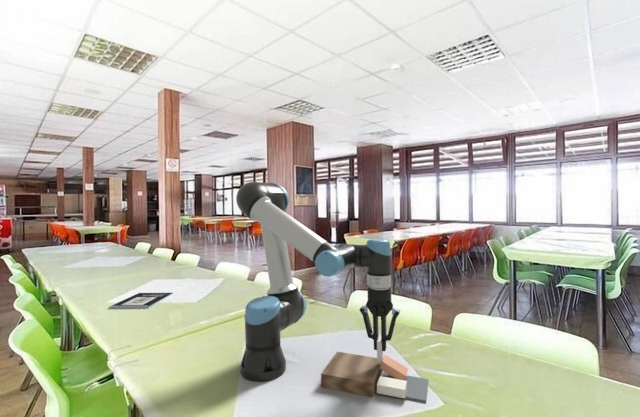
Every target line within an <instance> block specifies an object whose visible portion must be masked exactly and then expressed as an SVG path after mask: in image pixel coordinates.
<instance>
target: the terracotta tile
mask: <svg viewBox="0 0 640 417" xmlns="http://www.w3.org/2000/svg"><path fill="white" fill-rule="evenodd" d="M380 369H381V370H383V371H384V372H386V373H388V374H389V375H391V376H393V377H394V378H396V379H399V380H405V378H406V376H407V375H408V370H409V368H408V367H406V366H405V365H403V364H401V363H400V362H399V361H396V360H394V359H393V358H392V357H390V356H388V355H387V354H385V355H383V361H382V363H381V365H380Z"/></svg>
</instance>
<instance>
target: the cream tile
mask: <svg viewBox="0 0 640 417" xmlns="http://www.w3.org/2000/svg"><path fill="white" fill-rule="evenodd" d="M376 390H377V393H376V394H379V395H385V396H389V397H390V396H391V397H396V398H400V399H405V397H406V391H407V381H405V380H399V379H393V378H388V377H382V375H381V376H380V378H379V380H378V383H377V388H376Z"/></svg>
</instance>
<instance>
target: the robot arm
mask: <svg viewBox="0 0 640 417" xmlns="http://www.w3.org/2000/svg"><path fill="white" fill-rule="evenodd" d="M235 198H236V199H235V201H236V206H237V207H238V209H239V211H240V212H241V213H242V214H243V215H245V216H246V217H247V218H248V219H250V220H251V221H253V222H257V223H259V224H260V230H261V234H262V242H263V248H264V254H265V260H266V267H267V274H268V280H269V286H270V287H269V289H268V290H267V291H266V294H267V295H263V296H261V297H260V296H259V297H255V298H253V299H252V300H250V301H249V302H247V304H246V305H245V310H244V311H245V312H244V327H245V328H244V329H245V332H244V335H245V350H244V353H243V356H242V360H241V362H240V375H241V377H243V378H244V379H246V380H249V381H254V382H265V381H270V380H274V379H276V378H279V377H280V376H282V375H283V374H284V373H285V372H286V370H287V369H286V368H287V361H286V358H285V355H284V352H283V348H282V345H281V332H282V331H284V330H285V329H288V327H290V326H292V325H294V324H296V323H297V322H299V321H300V320H301V319H302V318H303V316H304V315H305V313H306V309H307V302H306V298H305V296H304V295H303V294H302V292H301V291H299V287H298V285H296V284H295V283H294V282H293V275H292V269H291V268H292V267H291V262H290V257H289V250H288V244H289V245H290V246H292V247H293V248H294V249H295V250H297V251H299V253H301V254H302V255H304V256H305V257H307V258H308V259H309V260H310V261H312V262H313V263H314V264H315V268H316V270H317V272H318V274H320V275H321V276H324V277H333V276H337V275H339V274H341V273H342V272H345V271H347V270H349V269H350V268H362V269H366V270H367V271H366V272H367V273H366V275H367V278H366V279H367V280H366V281H367V286H368V287H367V301H366V302H365V305H362V306H361V307H360V308H359V312H360V314H361V315H362V318H363V322H364V323H363V324H364V326H365V331H366V335H367V337H368V338H369V339H372V340H373V350H374V351H376V358H377V362H382V361H383V358H384V352H386V350H387V342H388V341H391V340H392V337H393V334H394V330H395V326H396V322H397V318H398V316H399V315H400V313H401V310H400V309H397V308H396V307H394V304H393V302H392V288H391V287H392V271H391V270H392V269H391V268H392V265H391V264H392V261H391V260H392V257H391V256H392V252H391V242H390V241H389V240H388V239H385V238H369V239H367V241H366V244H351V243H336V244H334V245H333V244H331V243H330V242H328V241H327V240H326V239H324V238H322V237H321V236H320V235H318V234H317V233H315V231H313V230H311V229H310V228H308V227H307V226H305V225H304V224H303V223H301V222H299V221H298V220H297V219H296V218H294V217H292V215H290V214H289V213H287V211H286V210H287V208H288V206H289V204H290V197H289V194H288V191H287V190H286V188H285V187H283V186H282V185H280V184H278V183H274V182H258V181H250V182H246V183H244V184H243V185H242V186H241V187H240V188H239V189H238V191H237V193H236V197H235ZM368 311H369V312H370V314H371V315H372V324H371V320H370V316H369V312H368ZM390 312H391V316H392V317H391V320H390V324H389V327H388V328H389V329H388V333H387V316H388V315H389V313H390ZM379 317H380V329H381V330H380V331H381V333H380V334H381V335H380V337H379Z"/></svg>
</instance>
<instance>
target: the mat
mask: <svg viewBox="0 0 640 417" xmlns="http://www.w3.org/2000/svg"><path fill="white" fill-rule="evenodd" d="M381 376H382V377H388V378H393V379H396V378H394V377H393V376H391V375H389V374H388V373H386V372H384V371H383V372H382V374H381ZM405 381H407V391H406V397H405V398H404V399H406V400H411V401H417V402H420V403H427V398H428V387H429V379H428V378H425V377H419V376H413V375H408V374H407V376H406V378H405ZM375 392H376V394H378V393H377V389H376V390H375Z"/></svg>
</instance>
